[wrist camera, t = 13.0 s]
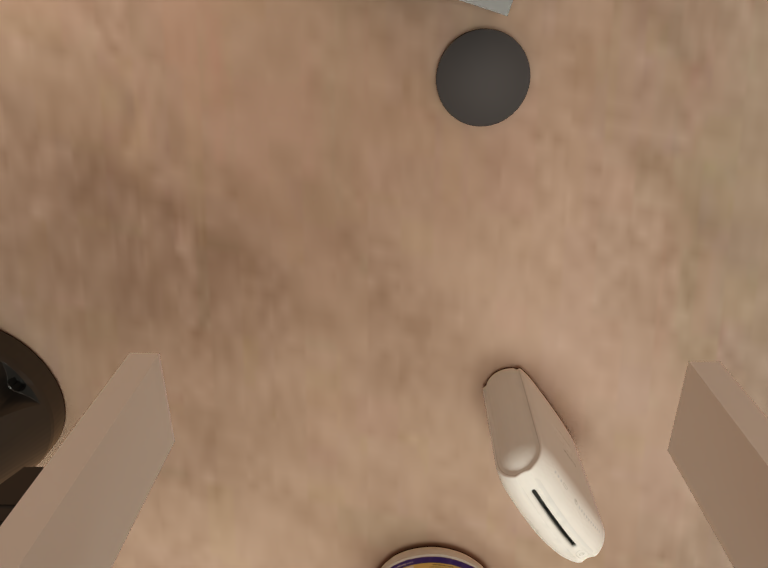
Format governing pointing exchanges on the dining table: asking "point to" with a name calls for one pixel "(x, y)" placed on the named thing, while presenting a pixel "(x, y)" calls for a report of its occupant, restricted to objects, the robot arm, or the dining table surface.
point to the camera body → (492, 5)
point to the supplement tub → (431, 559)
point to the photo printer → (541, 466)
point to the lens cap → (483, 77)
